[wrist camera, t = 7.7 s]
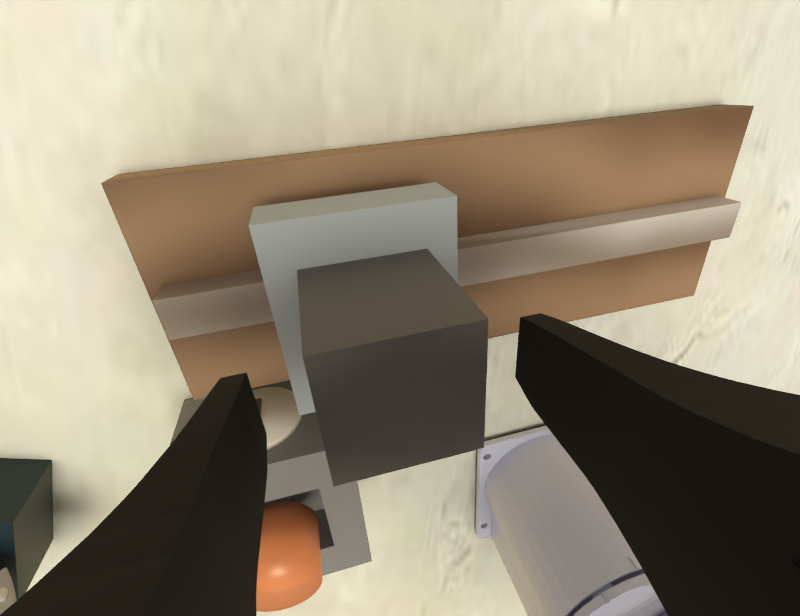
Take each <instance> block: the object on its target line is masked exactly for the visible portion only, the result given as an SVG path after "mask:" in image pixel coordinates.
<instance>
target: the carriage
mask: <svg viewBox="0 0 800 616" xmlns="http://www.w3.org/2000/svg"><path fill="white" fill-rule="evenodd" d="M249 229H250V233H251V236H252V240H253V244H254V248H255V251H256V255H257V259H258V263H259V266H260V270H261V274H262V277H263V281H264V285H265V289H266V292H267V296H268V300H269V304H270V307H271V311H272V315H273V319H274V322H275V326H276V330H277V334H278V337H279V341H280V345H281V349H282V352H283V356H284V360H285V364H286V367H287V371H288V375H289V379H290V382H291V386H292V390H293V394H294V397H295V401H296V405H297V409H298V412H299V416H300V415H304V414H309V413H313V412H316V415H317V419H318V424H319V428H320V432H321V436H322V440H323V445H324V449H325V453H326V457H327V461H328V466H329V470H330V474H331V478H332V482H333V486H338V485H342V484H346V483H350V482H354V481H357V480H361V479H365V478H369V477H373V476H377V475H381V474H384V473H388V472H392V471H396V470H400V469H404V468H408V467H411V466H415V465H419V464H423V463H427V462H431V461H435V460H438V459H442V458H446V457H450V456H454V455H458V454H462V453H465V452H469V451H473V450H477V449H481V448H484V429H485V402H486V374H487V347H488V320H489V319H488V318H487V317H486V316H485V314H484V313H483V312H482V311H481V310H480V309H479V307H478V306H477V305H476V304H475V303H474V302H473V301H472V299H471V298H470V297H469V296H468V295H467V294H466V293H465V291H464V290H463V289H462V288H461V287H460V286H459V285H458V251H457V195H455V194H454V193H452V192H450V191H449V190H447V189H446V188H444V187H443V186H441V185H440V184H438V183H436V182H434V183H426V184H419V185H412V186H404V187H397V188H390V189H382V190H375V191H368V192H360V193H353V194H345V195H338V196H331V197H323V198H316V199H309V200H301V201H294V202H286V203H279V204H272V205H264V206H257V207H253V211H252V215H251V219H250V222H249Z"/></svg>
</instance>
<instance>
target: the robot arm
mask: <svg viewBox="0 0 800 616" xmlns="http://www.w3.org/2000/svg"><path fill="white" fill-rule="evenodd" d="M515 377H516V379H517V381H518V383H519V384H520V386H521V388H522V390H523V392H524V394H525V395H526V397H527V399H528V400H529V402H530V404H531V405H532V407H533V409H534V410H535V411H536V413H537V414H538V415H539V417H540V418H541V419H542V421H543V422H544V423H545V425H546V426H542V427H538V428H535V429H531V430H527V431H523V432H519V433H515V434H511V435H507V436H503V437H499V438H495V439H492V440H488V441H484V448H481V449H477V488H476V527H475V532H476V535H477V537H478V538H485V537H489V536H492V538H493V541H494V543H495V545H496V547H497V549H498V552H499V554H500V556H501V558H502V560H503V563H504V565H505V567H506V569H507V571H508V573H509V576H510V578H511V580H512V582H513V584H514V587H515V589H516V591H517V593H518V595H519V597H520V600H521V602H522V604H523V606H524V608H525V611H526V613H527V615H528V616H800V395H796V394H791V393H786V392H781V391H776V390H771V389H767V388H763V387H758V386H754V385H749V384H745V383H741V382H736V381H733V380H729V379H725V378H721V377H717V376H713V375H710V374H707V373H703V372H700V371H696V370H693V369H689V368H686V367H682V366H679V365H676V364H673V363H670V362H667V361H664V360H661V359H658V358H656V357H653V356H650V355H647V354H644V353H642V352H639V351H636V350H633V349H631V348H628V347H626V346H623V345H620V344H618V343H615V342H613V341H610V340H608V339H605V338H603V337H600V336H598V335H596V334H593V333H591V332H588V331H586V330H583V329H581V328H579V327H576V326H574V325H571V324H569V323H566V322H564V321H561V320H559V319H556V318H554V317H551V316H548V315H545V314H542V313H539V314H534V315H529V316H524V317H520V324H519V337H518V350H517V362H516V375H515ZM267 472H268V470H267V433H266V430H265V427H264V424H263V421H262V418H261V415H260V412H259V409H258V406H257V403H256V400H255V397H254V394H253V391H252V388H251V385H250V382H249V378H248V375H247V372H246V373H241V374H236V375H232V376H227V377H222V378H220V379H219V380H218V382H217V383H216V384H215V386H214V387H213V388H212V390H211V391H210V392H209V394H208V395H207V396H206V398H205V399H204V401H203V402H202V403H201V405H200V406H199V408H198V409H197V410H196V412H195V413H194V414H193V416H192V417H191V419H190V420H189V421H188V423H187V424H186V425H185V427H184V428H183V429H182V430H181V432H180V433H179V434H178V436H177V437H176V438H175V440H174V441H173V442H172V444H171V445H170V446H169V447H168V449H167V450H166V451H165V452H164V454H163V455H162V456H161V457H160V458H159V460H158V461H157V462H156V463H155V464H154V466H153V467H152V468H151V469H150V470H149V472H148V473H147V474H146V475H145V476H144V478H143V479H142V480H141V481H140V482H139V483H138V484H137V486H136V487H135V488H134V489H133V490H132V491H131V492H130V493H129V494H128V495H127V497H126V498H125V499H124V500H123V501H122V502H121V503H120V504H119V505H118V506H117V507H116V508H115V509H114V510H113V511H112V512H111V513H110V514H109V515H108V516H107V517H106V518H105V519H104V520H103V521H102V522H101V524H100V525H99V526H98V527H97V528H96V529H95V530H93V531H92V532H91V533H90V534H89V535H88V536H87V537H86V538H85V539H84V540H83V541H82V542H81V543H80V544H79V545H78V546H77V547H75V548H74V549H73V550H72V551H71V552H70V553H69V554H68V555H67V556H66V557H65V558H64V559H62V560H61V561H60V562H59V563H58V564H57V565H56V566H55V567H54V568H53V569H52V570H51V571H50V572H48V573H47V574H46V575H45V576H44V577H43V578H42V579H41V580H40V581H39V582H38V583H37V584H35V585H34V586H33V587H32V588H31V589H30V590H29V591H27V592H26V593H25V594H24V595H23V596H22V597H20V598H19V599H18V600H17V601H16V602H15V603H13V604H12V605H11V606H10V607H9V608H7V609H6V610H5V611H4V612H3V613H2V614H0V616H256V588H257V572H258V560H259V550H260V541H261V531H262V522H263V513H264V503H265V493H266V483H267Z"/></svg>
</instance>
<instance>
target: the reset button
mask: <svg viewBox="0 0 800 616" xmlns="http://www.w3.org/2000/svg"><path fill="white" fill-rule="evenodd" d="M321 583H322V565H321V552H320V539H319V526H318V517H317V514H316V513H315V511H314V510H313V509H312V508H310V507H309V506H307V505H305V504H302V503H298V502H290V501H284V502H276V503H271V504H268V505H265V506H264V513H263V522H262V531H261V541H260V550H259V560H258V572H257V588H256V611H261V612H268V611H277V610H282V609H286V608H289V607H292V606H295V605H297V604H299V603H301V602H303V601H305V600H307V599H308V598H309V597H311V596H312V595H313V594H314V593H315V592H316V591H317V590H318V589H319V587H320V585H321Z"/></svg>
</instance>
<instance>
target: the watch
mask: <svg viewBox="0 0 800 616" xmlns="http://www.w3.org/2000/svg"><path fill="white" fill-rule="evenodd" d="M52 540H53V504H52V460H30V459H2V458H0V614H2V613H3V612H4V611H5V610H6V609H7V608H9V607H10V606H11V605H12V604H13V603H15V602H16V601H17V600H18V599H19V598H20V597H22V596H23V595H24V594H25V593H26V591H27V589H28V587H29V585H30V583H31V581H32V579H33V577H34V575H35V573H36V571H37V569H38V567H39V565H40V563H41V561H42V560H43V558H44V556H45V554H46V552H47V550H48V548H49V546H50V544H51V542H52Z"/></svg>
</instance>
